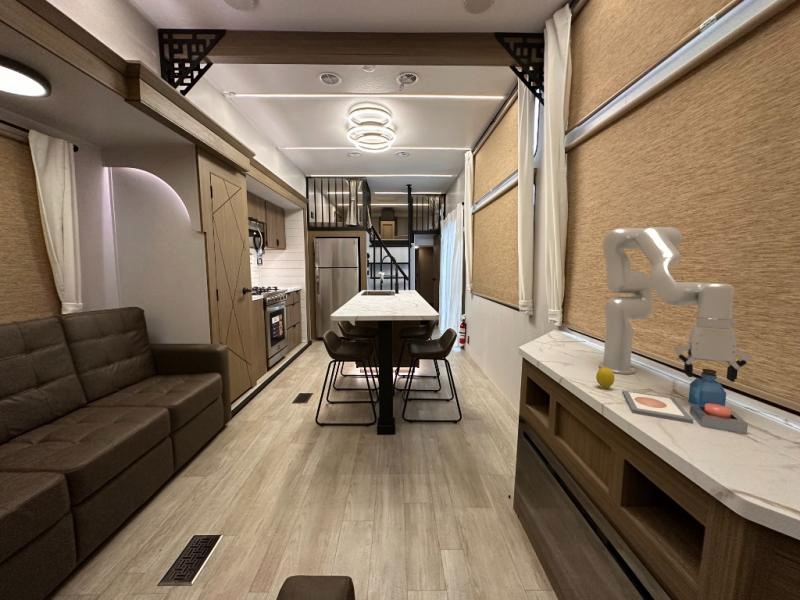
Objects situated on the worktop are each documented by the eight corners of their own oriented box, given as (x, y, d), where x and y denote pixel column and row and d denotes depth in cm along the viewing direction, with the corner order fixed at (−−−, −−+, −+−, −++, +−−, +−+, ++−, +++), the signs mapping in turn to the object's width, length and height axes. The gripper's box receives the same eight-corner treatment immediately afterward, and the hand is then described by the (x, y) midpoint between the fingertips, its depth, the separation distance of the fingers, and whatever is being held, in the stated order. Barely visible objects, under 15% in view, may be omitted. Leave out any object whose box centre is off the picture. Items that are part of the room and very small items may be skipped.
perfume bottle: (697, 409, 96) (701, 372, 95) (688, 401, 102) (691, 366, 101) (724, 413, 94) (728, 374, 93) (712, 405, 100) (716, 368, 99)
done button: (701, 410, 91) (702, 401, 91) (725, 414, 89) (726, 405, 89) (708, 417, 87) (709, 409, 87) (734, 422, 84) (735, 413, 84)
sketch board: (622, 392, 109) (622, 389, 109) (673, 400, 103) (674, 397, 103) (632, 412, 94) (632, 408, 94) (693, 423, 88) (693, 419, 88)
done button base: (689, 412, 94) (690, 403, 94) (730, 419, 90) (731, 409, 90) (701, 426, 86) (702, 415, 86) (746, 434, 82) (748, 423, 82)
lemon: (616, 391, 110) (618, 369, 110) (599, 390, 112) (600, 368, 111) (609, 385, 116) (611, 364, 115) (593, 384, 117) (594, 364, 116)
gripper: (746, 324, 95) (741, 379, 96) (673, 320, 103) (669, 371, 104) (760, 327, 88) (755, 386, 89) (680, 323, 96) (677, 377, 97)
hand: (709, 378), depth 97 cm, fingers open, 9 cm apart
